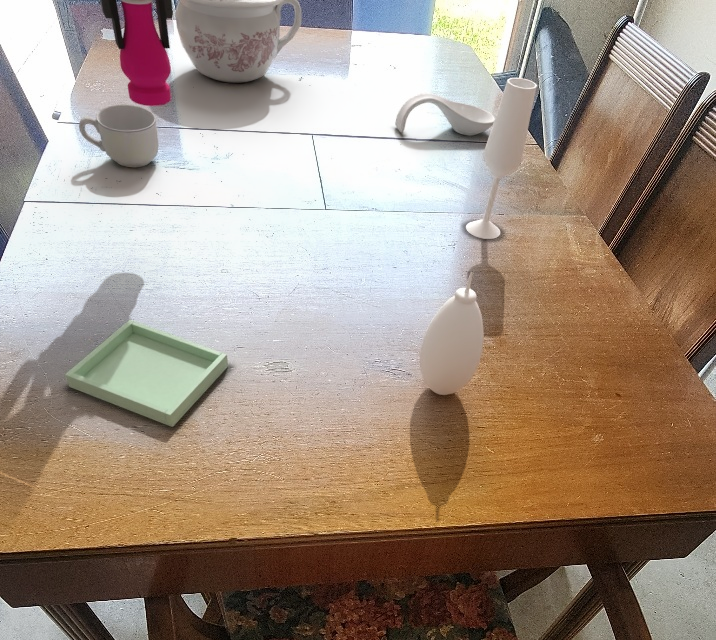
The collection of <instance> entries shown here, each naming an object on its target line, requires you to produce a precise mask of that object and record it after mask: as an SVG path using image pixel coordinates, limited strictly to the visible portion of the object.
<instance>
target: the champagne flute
mask: <svg viewBox="0 0 716 640" xmlns="http://www.w3.org/2000/svg"><path fill="white" fill-rule="evenodd" d="M537 87H538V85H537V83H535V82H534V81H532V80H530V79H527V78H522V77H511V78H507V81H506V84H505V87H504V89H503V93H502V96H501V99H500V102H499V105H498V108H497V111H496V114H495V116H494V117H495V120H494V123H493V125H492V126H491V129H490V133H489V134H488V139H487V141H486V144H485V148H484V151H483V161H484V164H485V166H486V168H487V170H488V171H489V173H490V175H491V176H493V178H492V183H491V185H490V189H489V194H488V197H487V202H486V206H485V210H484V213H483V217H482V218H481V219H477V220H474V221H470V222H468V223H467V224H466V226H465V230H466V231H467V232H468V233H469V234H470V235H472V236H474V237H475V238H479V239H484V240H493V239H496V238H499V237H500V236H501V230H500V229H499V227H498V226H497V225H495V224H494V223H493V222H492V221H490V218H491V214H492V211H493V207H494V203H495V199H496V196H497V192H498V189H499V185H500V181H501V178H504V177H506V176H508V175H509V174H511V173H512V172H515V170H516V169H518V167H519V166H520V165H521V163H522V161H523V155H524V151H525V147H526V141H527V135H528V132H529V126H530V121H531V116H532V111H533V106H534V100H535V96H536V91H537Z"/></svg>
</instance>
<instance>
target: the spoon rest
mask: <svg viewBox="0 0 716 640" xmlns="http://www.w3.org/2000/svg"><path fill="white" fill-rule="evenodd" d="M423 104H433V105H435V106H436V107H437V108H439V110H440V111H441V113H442V114H443V116H444V117H445V119H446V120H447V122H448V123H449V125H450V126H451V128H452V129H453V131H455V133H458V134H460V135H464V136H476V135H478V134H482V133H484V132H487V130H489V129H490V128H492V126H493V123H494V120H495V117H496V116H494V115H493V114H492V112H490V111H488V110H485V109H483V108H482V107H479V106H476V105H472V104H468V103H465V102H464V103H463V102H459V101H454V100H450V99H449V98H445V97H443V96H440V95H438V94H435V93H431V92H430V93H429V92H424V93H419V94H416V95H413V96H412V97H410V98H408V100H406V101H405V103H404V104H402V106H401V107H400V109H399V111H398V113H397V115H396V118H395V122H394V125H395V127H396V128H397V130H398V131H399V132H400V133H404V131H405V128H406V123H407V120H408V117H409V115H410V114H411V113H412V111H413V110H414V109H415V108H417V107H419V106H421V105H423Z"/></svg>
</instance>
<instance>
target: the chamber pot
mask: <svg viewBox="0 0 716 640" xmlns="http://www.w3.org/2000/svg"><path fill="white" fill-rule="evenodd" d="M287 4H288V5H292V6H293V11H294V19H293V24H292V25H291V27H290V29H288V31H287V33H286V34H285V35H283V36H282V37H280V36H281V19H282V11H281V10H282V7H283V6H284V5H287ZM301 7H302V6H301V5H300V2H299V0H178V2H177V6H176V9H175V23H176V29H177V33H178V36H179V40H180V44H181V47H182V48H183V50H184V52H185V53H186V55H187V57H188V58H189V60H190V62H191V64H192V65H193V66H194V67H195V69H196V70H197V71H198V72H199V73H200V74H202V75H203V76H206V77H207V78H210V79H211V80H215V81H218V82H221V83H231V84H244V83H249V82H252V81H255V80H258V79H260V78H263V76H264V75H266V73H267V72H268V71H269V70H270V67H271V66H272V64H273V62H274V60H275V59H276V57H277V55H278V54H279V52H280V51H281V50H282V49H283V48H284V46H286V45H287V44H288V43H289V42H290V41H291V40H293V39H294V37H295V36H296V34H297V32H298V31H299V29H300V28H301V25H302V17H303V16H302V8H301Z"/></svg>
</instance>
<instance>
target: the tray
mask: <svg viewBox="0 0 716 640" xmlns="http://www.w3.org/2000/svg"><path fill="white" fill-rule="evenodd" d="M228 367H229V362H228V354H227V353H224V352H222V351H218V350H216V349H214V348H210V347H208V346H206V345H203V344H199V343H196V342H194V341H191V340H188V339H186V338H182V337H180V336H177V335H175V334H171V333H169V332H166V331H163V330H160V329H157V328H155V327H151V326H149V325H147V324H144V323H140V322H138V321H135V320H132V319H128V321H127V320H126V322H125V323H123V325H122V326H120V327H119V328H118V329H117V330H115V331H114V332H113V333H112V334H110V336H109V337H107V338H106V339H105V340H103V342H101V343H100V344H99V345H97V346H96V347H95V348H94V349H93V350H92V351H91V352H89V353H88V354H87V355H86V356H85V357H84V358H82V359H81V360H80V361H79V362H77V363H76V364H75V365H74V366H73V367H72V368H70V369H69V370H67V372H66V373H64V377H65V380H66V382H67V384H68V387H69V388H71V389H73V390H76V391H80V392H82V393H84V394H86V395H89V396H91V397H94V398H97V399H99V400H102V401H104V402H107V403H110V404H111V405H115V406H117V407H120V408H122V409H125V410H127V411H131V412H132V413H135V414H138V415H141V416H142V417H146V418H148V419H150V420H153V421H155V422H158V423H161V424H163V425H166V426H169V427H172V428H173V427H174V426H175V425H176V424H177V423H179V421H180V420H181V419H182V417H183V416H185V415H186V413H187V412H188V411H189V410H190V409H191V408H192V407H193V406H194V404H195V403H196V402H197V401H199V399H200V398H201V397H202V396H203V395H204V393H205V392H206V391H207V390H208V389H210V387H211V386H212V385H213V384H214V383H215V381H216V380H217V379H219V377H220V376H221V375H222V374H223V373H224V372H225V371H226V369H227V368H228Z"/></svg>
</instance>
